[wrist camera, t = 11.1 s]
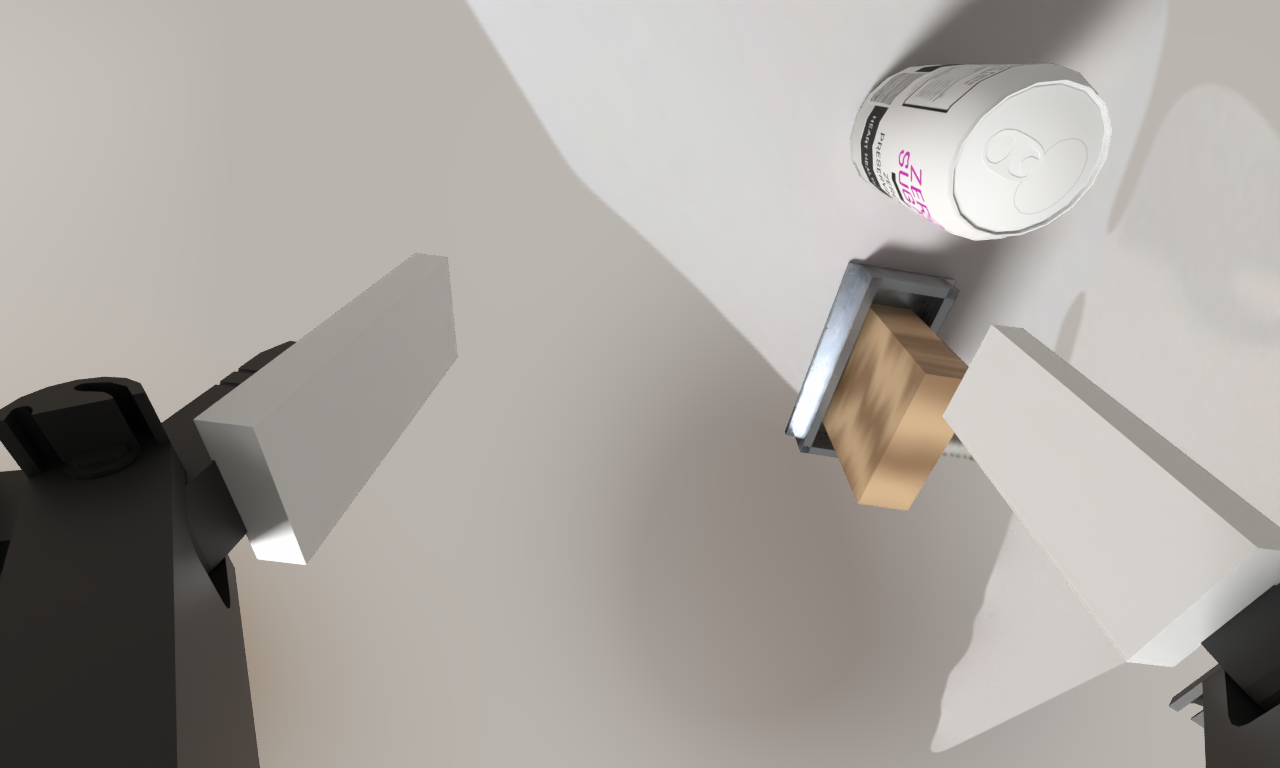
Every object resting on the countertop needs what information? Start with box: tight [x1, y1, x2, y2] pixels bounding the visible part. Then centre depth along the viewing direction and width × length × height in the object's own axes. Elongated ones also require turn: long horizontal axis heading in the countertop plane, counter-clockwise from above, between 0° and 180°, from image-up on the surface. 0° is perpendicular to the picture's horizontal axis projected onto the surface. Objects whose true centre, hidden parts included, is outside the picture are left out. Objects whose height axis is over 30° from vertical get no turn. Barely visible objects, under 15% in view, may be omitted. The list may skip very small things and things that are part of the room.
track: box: [785, 262, 959, 458], centre depth 46 cm, size 18×9×3 cm, turn 172°
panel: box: [822, 303, 969, 511], centre depth 42 cm, size 12×4×12 cm, turn 172°
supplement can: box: [850, 63, 1112, 241], centre depth 31 cm, size 8×8×15 cm
